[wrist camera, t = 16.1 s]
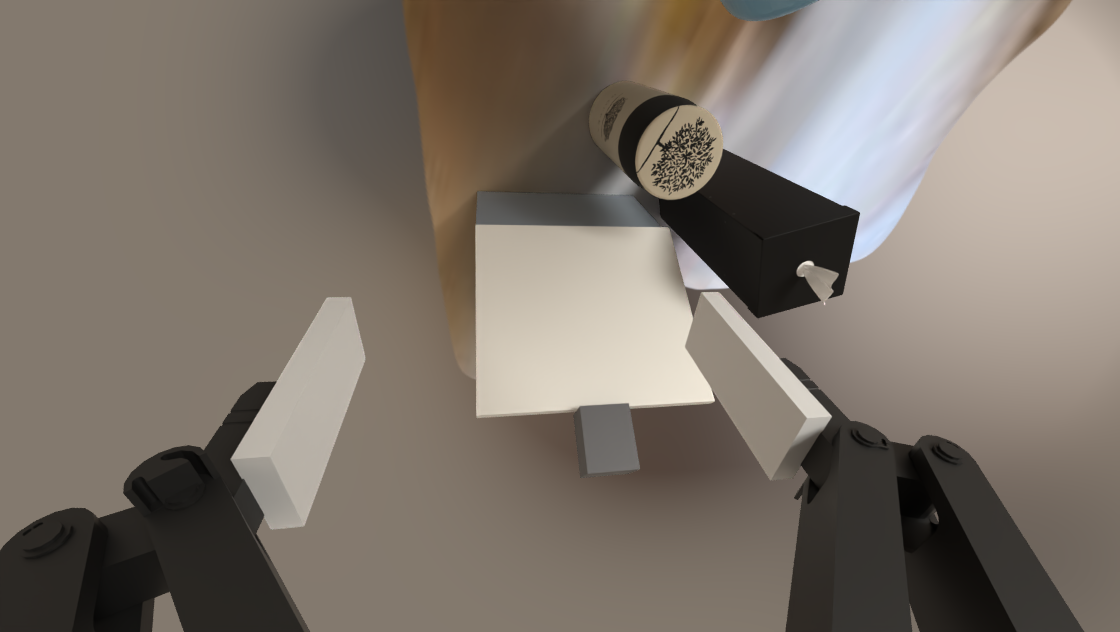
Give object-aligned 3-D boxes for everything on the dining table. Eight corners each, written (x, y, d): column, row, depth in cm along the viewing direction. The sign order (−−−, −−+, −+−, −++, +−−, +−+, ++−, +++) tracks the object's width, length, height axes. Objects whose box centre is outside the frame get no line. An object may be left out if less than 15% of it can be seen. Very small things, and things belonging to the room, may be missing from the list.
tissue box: (659, 217, 57) (778, 341, 34) (654, 159, 52) (788, 258, 29) (715, 201, 57) (871, 315, 34) (714, 142, 52) (895, 228, 29)
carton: (477, 191, 51) (475, 228, 41) (632, 195, 54) (665, 231, 44) (481, 312, 61) (481, 366, 51) (612, 310, 64) (635, 359, 54)
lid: (476, 236, 42) (474, 217, 39) (662, 238, 45) (673, 220, 42) (477, 487, 31) (476, 483, 29) (719, 465, 35) (737, 460, 32)
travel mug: (667, 111, 49) (745, 145, 34) (622, 167, 52) (677, 220, 37) (619, 64, 46) (684, 78, 31) (574, 126, 48) (614, 167, 34)
